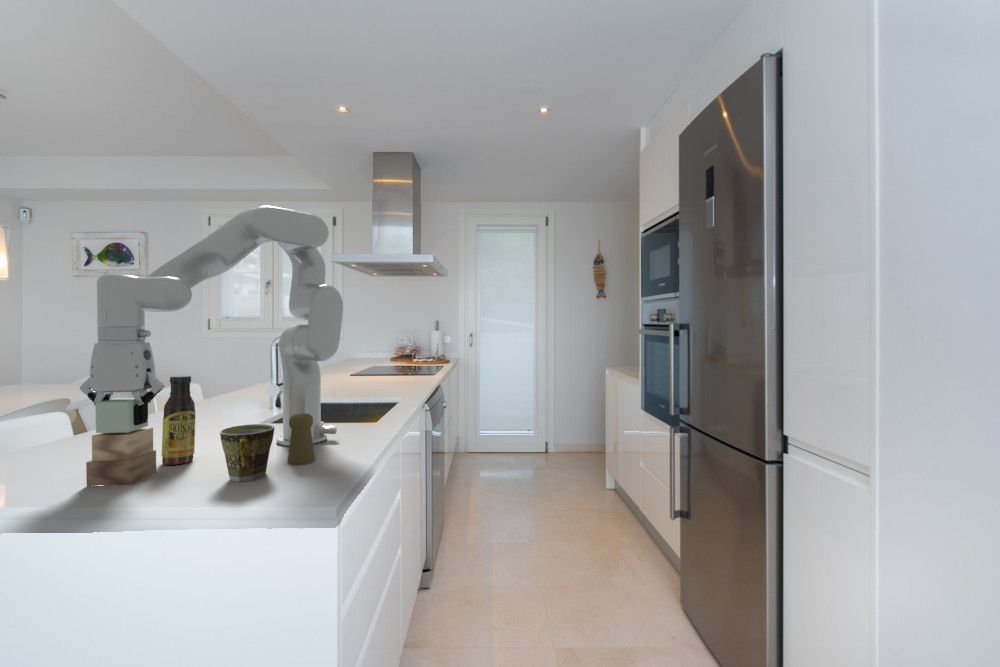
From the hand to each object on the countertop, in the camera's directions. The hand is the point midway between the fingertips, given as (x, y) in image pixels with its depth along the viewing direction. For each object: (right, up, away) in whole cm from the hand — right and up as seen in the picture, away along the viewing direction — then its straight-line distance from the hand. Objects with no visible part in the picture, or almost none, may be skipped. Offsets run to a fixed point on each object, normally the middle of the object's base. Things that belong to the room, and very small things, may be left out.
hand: (123, 423), depth 96 cm
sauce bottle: (+3, -11, +12) cm, 17 cm away
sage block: (0, -1, 0) cm, 1 cm away
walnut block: (0, -12, 0) cm, 12 cm away
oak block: (0, -7, 0) cm, 7 cm away
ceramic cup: (+25, -12, +1) cm, 28 cm away
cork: (+31, -12, +13) cm, 35 cm away
